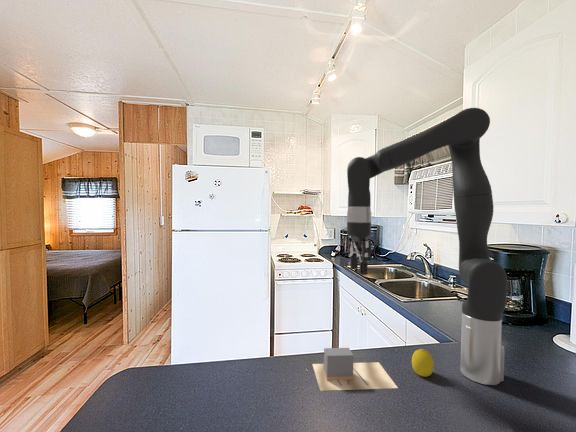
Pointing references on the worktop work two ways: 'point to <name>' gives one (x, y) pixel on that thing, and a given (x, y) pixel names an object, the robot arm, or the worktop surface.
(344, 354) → the block
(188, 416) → the worktop surface
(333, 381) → the board
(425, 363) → the lemon
